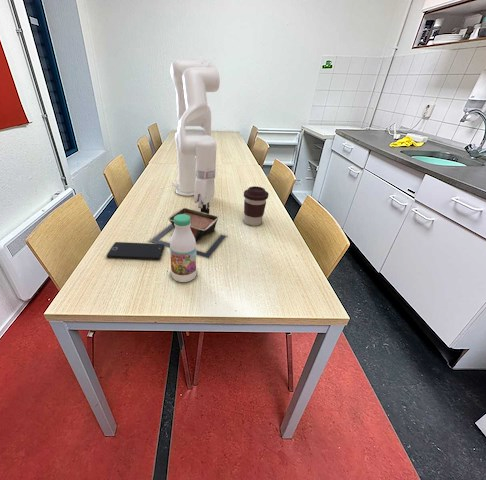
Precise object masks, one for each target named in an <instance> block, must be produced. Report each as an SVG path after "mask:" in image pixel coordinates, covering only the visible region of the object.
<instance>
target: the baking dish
mask: <svg viewBox="0 0 486 480" xmlns="http://www.w3.org/2000/svg"><path fill="white" fill-rule="evenodd" d="M179 214H186V215H189V216H190V218H191V225H190V229H191V231H192V233H193V235H194V237H195V241H196V243H198V241H200V240H201V239H202V238H203V237H205V236H208V235H211V234H212V233H214V232H215V230H216V225H217V222H218V220H219V216H218V215H216V214H215V215H214V214H210V213H209V214H207V213H204V212H201V210H195V209H191V208H188V207H183V208H182V207H181V208H180V209H178V210H176V211H175V212H173V213H172V214H171V215H170V216H169V217H168V221H169V222H170V224H172V225H173V226H174V227H173V229H174V230H175V225H174V217H175V216H176V215H179Z"/></svg>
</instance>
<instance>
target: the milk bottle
mask: <svg viewBox="0 0 486 480" xmlns="http://www.w3.org/2000/svg"><path fill="white" fill-rule="evenodd" d="M174 225H175V230H174V231H173V233H172V235H171V237H170V241H169V243H170V247H169V255H170V256H169V257H170V273H171V277H172V279H173V280H174V281H176V282H180V283H188V282H191V281H192V280H194V279H195V278H196V276H197V254H196V251H197V242H196V241H195V237H194V235H193V233H192V231H191V229H190V225H191V218H190V216H189V215H186V214H179V215H176V216H175V217H174Z"/></svg>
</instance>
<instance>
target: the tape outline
mask: <svg viewBox="0 0 486 480" xmlns="http://www.w3.org/2000/svg"><path fill="white" fill-rule="evenodd" d="M172 229H174V226H173V225H172V223H170V225H169V226H167V227H166V228H165V229H163V230H162V231H161V232H159V234H157V235H156V236H155V237H154V238H153V239H151V240H150V241H149V242H150V243H152V244H164V247H168V248H170V242H166V241H162V240H160V239H162V238H163V237H164V236H165V235H166V234H168V232H170V231H171V230H172ZM225 238H226V235H223V234H221V235H219V237H218V238H217V239H216V241H215V242H214V243H213V244H212V245H211V246H210V248H208V250H207V251H206V252H204V251H199V250H196V256H200V257H204V258H210V257H211V255H212V254H214V252H215V250H216V249H217V248H218V247H219V245H220V244H221V243H222V242H223V241H224V239H225Z"/></svg>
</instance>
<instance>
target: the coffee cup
mask: <svg viewBox="0 0 486 480" xmlns="http://www.w3.org/2000/svg"><path fill="white" fill-rule="evenodd" d="M269 196H270V195H269V192H268V191H266V189H265V188H264V187H261V186H258V185H257V186H254V185H253V186H249V187H248V188H247V189H245V190H244V191H243V197H244V200H243V201H244V203H243V214H244V216H243V218H244V219H243V221H244V224H246V225H248V226H253V227H255V226H260V225H261V224H262V221H263V216H264V214H265V210H266V205H267V200H268V199H269Z"/></svg>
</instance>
